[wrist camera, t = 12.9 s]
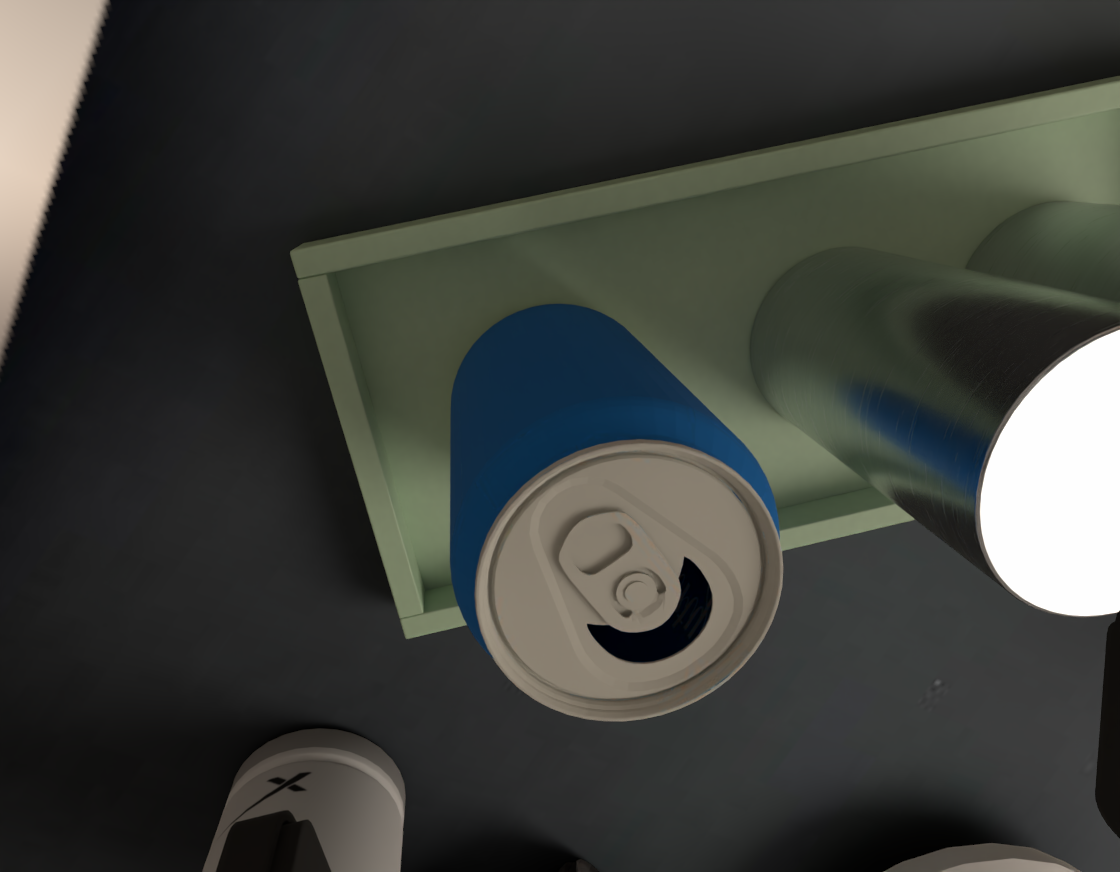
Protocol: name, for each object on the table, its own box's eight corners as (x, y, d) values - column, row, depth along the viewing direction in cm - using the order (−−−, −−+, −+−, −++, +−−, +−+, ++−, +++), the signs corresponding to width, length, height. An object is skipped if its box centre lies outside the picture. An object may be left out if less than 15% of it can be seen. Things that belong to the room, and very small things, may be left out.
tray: (301, 243, 24) (288, 250, 22) (1177, 63, 25) (1236, 55, 23) (408, 607, 28) (405, 640, 26) (1151, 435, 29) (1198, 453, 28)
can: (739, 267, 25) (974, 357, 14) (922, 228, 25) (1299, 284, 14) (758, 444, 27) (977, 649, 16) (928, 406, 27) (1260, 580, 16)
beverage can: (531, 530, 27) (588, 797, 16) (407, 382, 25) (371, 568, 14) (689, 417, 26) (866, 611, 15) (577, 255, 24) (686, 340, 13)
